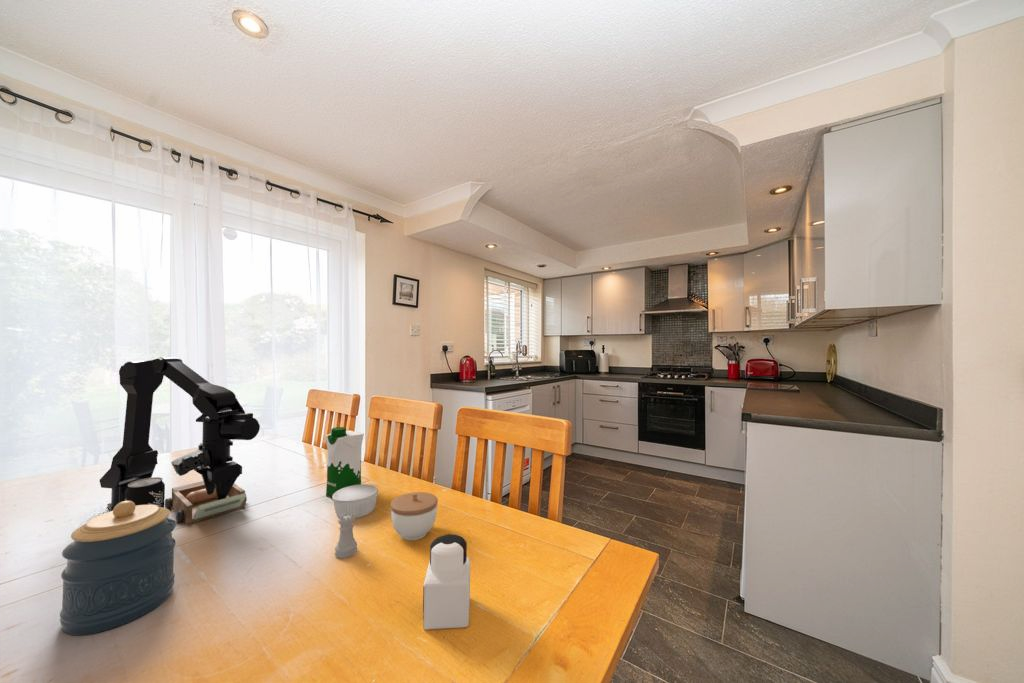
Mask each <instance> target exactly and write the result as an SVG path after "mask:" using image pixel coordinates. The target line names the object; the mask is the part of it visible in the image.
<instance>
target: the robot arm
mask: <svg viewBox="0 0 1024 683" xmlns="http://www.w3.org/2000/svg"><path fill="white" fill-rule="evenodd" d="M118 375H119V385H120V386H121V387H122V388H123V390H124V391H125V392H126V394H127V396H126V407H125V416H124V424H123V425H124V427H123V438H122V444H121V447H120V449H119V450H118V451H117V452H116V453H115V455H114V456H113V457H112V460H111V465H110V468H109V469H108V470H107V471H106V472H105V473H104V474H103V476H102V477H100V479H99V484H100V488H103V489H111V497H110V498H111V499H110V500H111V501H110V503H107V504H106V505H107V508H108V509H109V512H110V511H113V509H114V507H115V506H116V505H117V504H118V503H120V502H123V501H125V491H126V490H127V488H128V484H129V483H131V482H134V481H137V480H141V479H145V478H153V473H154V471H155V468H156V465H159V464H158V455H159V452H158V450H157V449H154V448H152V447H151V445H150V443H149V442H150V433H151V432H150V431H151V422H152V411H153V400H154V393H155V392H156V391H157V390H158V389H159V387H160V386H161V385H162V383H163V381H164V377H166V378H167V379H168V380H170V381H171V382H172V383H174V384H175V385H176V386H177V387H179V388H180V389H181V390H183V391H184V392H185V393H187V394H188V395H189V396H190V397H191V398H192V400H191V401H192V404H193V406H194V407H195V408H196V409H197V410H198V411H199V413H201V415H200V416H198V417H197V418H196V419H195V422H196V423H202V442H200V443H199V444H198V449H197V450H195V451H192V452H189V453H186V454H185V455H182V456H181V457H178V458H176V459H174V460H172V461H171V465H172V467H173V469H174V471H175V473H176V474H177V475H179V477H181V476H185V475H186V474H189V472H191V471H194V472H196V473H197V474H200V475H201V478H202V481H204V484H205V488H206V491H207V494H208V495H210V494H213V492H214V490H215V489H216V494H217V499H218V500H221V499H225V498H226V497H227V495H228V493H229V491H230V489H231V488H232V486H233V484H235V482H236V480H238V478H239V477H240V475H243V465H241V464H239V463H238V462H236V461H233V460H234V459H233V458H234V456H232V455H231V446H232V447H233V445H234V441H233V440H235V441H251V440H253V439H255V438H256V437H257V435H258V434H259V432H260V428H261V425H260V423H259V421H258V420H257V419H256V418H255V417H254V413H252V412H247V413H246V411H245V410H244V408H243V406H242V405H241V404H240V402H239V400H238V399H237V397H236V394H235V393H234V392H233V391H232V390H231V389H228V388H226V387H224V386H221V385H217V384H214V383H211V382H209V381H208V380H206V379H205V378H204V377H203V376H201V375H200V374H199V373H197V372H196V371H195V370H193V369H192V368H191V367H189V366H188V365H186V363H184V362H183V360H182V359H181V358H179V357H176V356H174V357H173V356H171V357H167V356H166V357H158V358H155V359H149V360H142V361H141V360H139V361H138V360H137V361H127V362H125V363H124V364H123V365H120V368H119V369H118Z"/></svg>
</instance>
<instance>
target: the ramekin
mask: <svg viewBox="0 0 1024 683" xmlns="http://www.w3.org/2000/svg"><path fill="white" fill-rule="evenodd" d="M378 494H379V488H378V487H377V486H375V485H373V484H367V483H364V484H362V483H361V484H360V485H353V486H348V487H345V488H342V489H340V490H338V491H336V492H335V493H334V494H333V496H332V498H331V499H332V502H333V505H334V511H335V514H336V516H337V517H339V518H340V517H341V515H343V516H344V514H345V513H347V515H349V513H351V514H353V517H354V518H355V519H358V518H361V517H365V516H367V515H369V514H371V513H372V511H373V510H374V509H375V507H376V502H377V496H378Z"/></svg>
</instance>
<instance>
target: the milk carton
mask: <svg viewBox="0 0 1024 683" xmlns="http://www.w3.org/2000/svg"><path fill="white" fill-rule="evenodd" d="M364 435H365V433H362V432H358V431H354V430H347V427H345V426H339V427H333V428H331V429H330V433H329V434H325V441H326V442H325V443H326V449H327V450H326V451H327V460H326V461H327V463H326V465H327V466H326V471H327V472H326V489H325V496H326V495H327V497H329V498H331V497H332V496H333V494H334V493H335V492H336V491H338V490H340V489H342V488H345V487H348V486H353V485H360V484H362V445H363V440H364Z"/></svg>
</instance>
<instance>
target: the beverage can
mask: <svg viewBox="0 0 1024 683" xmlns="http://www.w3.org/2000/svg"><path fill="white" fill-rule="evenodd" d="M165 486H166V485H165V482H164V481H163V477H160V476H155V477H154V476H152V477H151V478H145V479H141V480H137V481H134V482H131V483H129V484H128V488H127V490H126V491H125V501H132V502H134V503H135V506H137V505H157V506H159V507H162V508H165V499H166V498H165V493H166V492H165V490H166V487H165Z"/></svg>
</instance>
